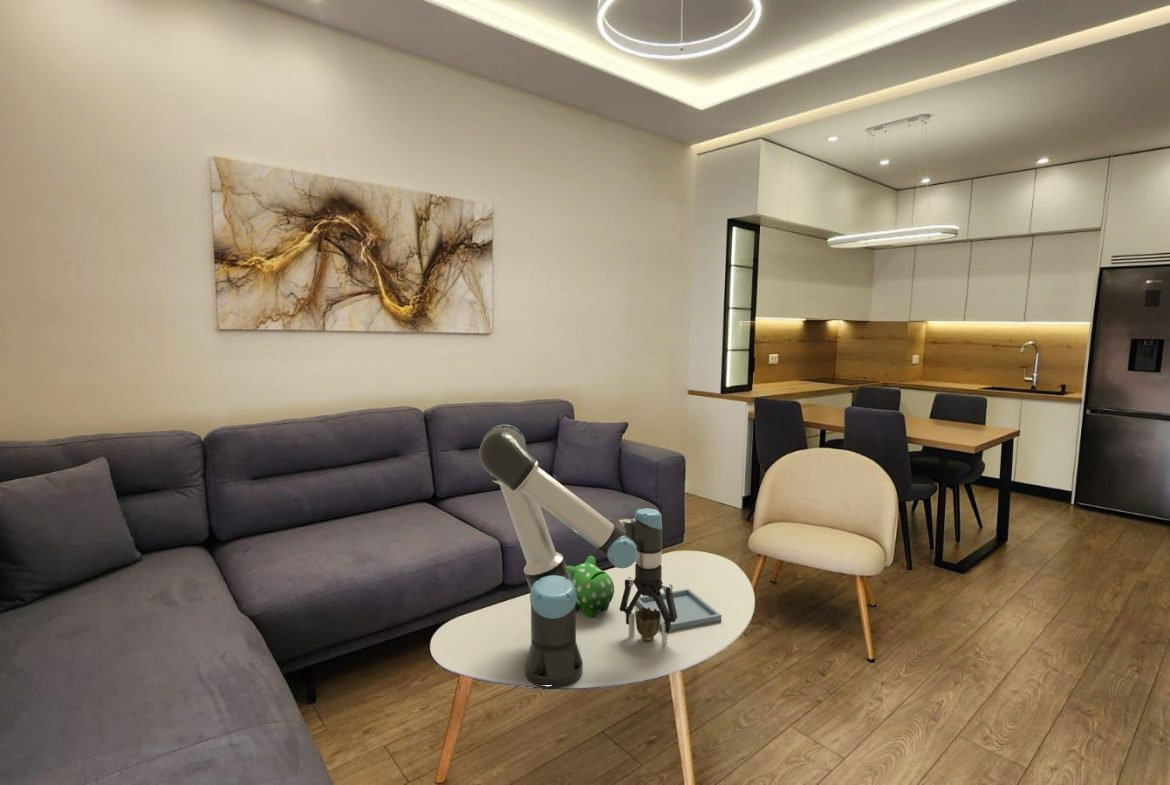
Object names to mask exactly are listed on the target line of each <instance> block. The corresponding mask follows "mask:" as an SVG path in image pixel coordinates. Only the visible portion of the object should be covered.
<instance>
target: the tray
mask: <svg viewBox="0 0 1170 785" xmlns="http://www.w3.org/2000/svg"><path fill="white" fill-rule="evenodd" d="M661 595H662V599H663V601H664V603H665V605H666V607H667V609H668V605H667V601H666V596H665V593H664V592H661ZM672 595H673V600H674V604H675V608H676V613H677V619H676V620H675V622H671V630H670V632H673V631H678V630H683V629H689V628H690V629H691V628H694V627H698V626H699V627H700V626H705V625H710V624H716V623H720V622H722V614H721V613H720V612H718V611H717V610H716V609H715V608H713V607H712V606H711V605H709V604H708V603H707V602H706V601H705V600H703V599H702V598H701V597H700V596H699V595H697V594H696V593H695V592H693V591H692V590H691V589H689V588H684V589H678V590H672ZM635 606H636V607H638V609H640V610H641V609H642V608H643V607H644V608H646V609H647V608H648V607H649V608H650V610H651V611H654V609H656V610H657V611H660V610H659V608H658V606H657V604H656V602H655V601H654V599H653V597H649V596H643V595H641V596H640V597H639V599H638V601H637V603H636V604H635ZM668 611H669V610H668ZM660 614H661V612H660ZM663 621H664V619H663V617H662V614H661V618H660V625H659V631H661V632H662V622H663Z"/></svg>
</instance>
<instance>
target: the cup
mask: <svg viewBox="0 0 1170 785" xmlns="http://www.w3.org/2000/svg"><path fill="white" fill-rule="evenodd" d="M634 612H635V628H636V630H637V632H638V634H639V635H640V638H641V640H642V641H643V642H646V643H651V642H653V641H654V639H655V636H656V635H657V634H658V632H659V631H660V629H659V625H660V618H661V614H660V611H657V610H656V609H654V611H651V610H650V608H649V607H648V608H647V609H646V608H644V607H643V608H642V609H640V608H638V610H635V611H634Z"/></svg>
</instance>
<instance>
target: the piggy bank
mask: <svg viewBox="0 0 1170 785" xmlns="http://www.w3.org/2000/svg"><path fill="white" fill-rule="evenodd" d="M596 564H597V562H596V558H595V556H592V555H589V556H588V557H587V558H586V560H585V561H584V562H583V563H580V564H578V565H575V566H573V565H566V567H567V568H568V570H569V572H570V574H571V577H572V583H573V584H574V586H575V591H576V596H577V598H576V612H577V611H579V610H580V609H582V611H583V613H584V615H585V616H586V617H589V618H595V617H597V616H598V615H599V613H600V612H606V611H608V609H609V607H610V603H611V602H612V600H613V598H614V594H615V585H614V582H613V579H612V578H611V576H610V574H608V572H606V571H604V570H602V569H601V568H599V567H598V566H597V565H596ZM599 611H600V612H599Z"/></svg>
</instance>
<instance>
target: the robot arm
mask: <svg viewBox="0 0 1170 785" xmlns="http://www.w3.org/2000/svg"><path fill="white" fill-rule="evenodd" d="M478 457H479V462H480V463H481V466H482V467H483V468H484V470H485V471H486V472H487V473H488V474H489V475H490V478H491V481H492V482H493V483H495V484H498V485H499V486H500V490H501V492H502V495H503V499H504V501H505V504H506V506H507V511H508V513H509V515H510V518H511V521H512V524H513V527H514V530H515V533H516V535H517V539H518V541H519V545H520V547H521V548H520V549H521V550H522V552H523V556H524V559H525V561H526V564H525V566H524V568H523V573H524V575H525V579H526V581H527V584H528V588H529V590H530V593H529V602H530V637H531V638H530V639H531V641H530V646H529V649H528V651H527V656H526V658H525V662H524V675H525V677H526V679H527V680H528V681H529V682H530V683H532V684H533V685H536V686H538V685H540V686H539V687H542V688H544V687H543V686H541V685H552V686H549V687H553V688H554V687H556V688H562V686H563V687H566V686H565V685H567V686H569V685H571V684H574V683H575V682H577V681H578V680H579V679H580V678H581V677H582V675H583V668H584V667H583V664H584V663H583V658H582V656H581V652H580V650H579V649H580V648H579V646H578V644H577V620H576V619H577V618H576V616H577V611H576V598H577V596H576V591H575V586H574V584H573V583H572V577H571V574H570V572H569V570H568V568H567V567H566V566H567V565H566V561H565V557H564V556H563V554H561V553H559V552H557V551H556V549H555V546H554V544H553V540H552V538H551V534H550V532H549V531H550V530H549V529H548V526H547V522H546V520H545V517H544V514H543V510H545V511H547V512H548V513H549V514H550V515H551V516H553V517H554V518H555V519H557V520H558V521H560V522H561V523H563V524H564V525H565V526H566V527H568V528H569V529H570V530H572V531H573V532H574V533H576V534H577V535H579V536H580V537H581V538H582V539H584V540H585V541H586V542H587V543H589V544H591V545H592V546H594V547H595V548H596V549H597V550H598V551H599V552H601V553H602V554H603V555H605V556H606V557H607V559H608V561H609V562H610V564H612V565H613V567H615V568H618V569H627V568H629V567H631V566H632V565H633V564H634V563H635V564H634V567H635V568H634V573H635V574H634V578H632V577H630V576H628V577H627V578H626V579H625V580H624V590H623V593H622V594H623V595H622V599H621V601H620V606H619V611H620V612H623V613H625V624H626V625H628V638H632V637H633V636H634V634H635V627H636V619H635V611H633V610H634V608H635V606H636V603H637V601H638V599H639V597H641V596H649V597H653V599H654V601H655V602H656V604H657V606H658V608H659V610H660V612H661V614H662V617H663V619H664V621H663V622H662V631H661V645H662V646H666V644H667V642H668V634H669V633H670V632H671V631H670V630H671V622H675V620H676V619H677V613H676V608H675V604H674V600H673V595H672V591H673V584H668V585H667V584H664V582H663V581H662V580H663V579H662V573H663V572H662V571H663V570H662V568H663V567H662V558H663V557H662V554H663V550H662V548H663V547H662V546H663V545H662V544H663V543H662V542H663V535H662V534H663V521H662V520H663V519H662V513H661V512H660V511H659V510H657V509H655V508H651V507H650V508H647V507H646V508H639V509H637V510H636V511H635V514H634V516H632V517H616V518H615V517H614V518H612V517H604V516H603V514H601V513H599V512H598V511H597V510H595V508H594V507H591V506H590V505H589V504H588V503H586V502H585V501H584V500H582V499H581V498H579V496H577V495H576V494H575V493H573V492H572V491H571V490H569V489H568V488H567V487H565V486H564V485H563V484H562V483H560V482H559V481H558V480H556V479H555V478H554V477H553V476H551V475H550V474H549V473H547V472H546V471H545V470H544V469H542V468H541V467H539V462H538V460H537V459H536V458H534V457H533V456H532V455H531V454H530V453H529V451H528V449H527V443H526V438H525V435H524V434H523V433H522V432H521V431H520V430H519V429H518V428H517V427H515V426H513V425H511V424H510V425H509V424H500V425H496V426H494V427H493V428H490V429H489V430H488V431H487V433H485V434H484V436H483V439H482V442H481V444H480V447H479V452H478ZM542 508H543V510H542ZM633 585H634V586H635V587H636V589H637V591H636V593H635V594H634V596H633V597H632V599H631V601H630V603H629V605H628V602H629V598H630V594H631V590H632V587H633ZM661 590H662V591H663V593H665V596H666V601H667V605H668V609H667V607H666V605H665V603H664V601H663V599H662V595H661V593H662V592H661ZM668 610H669V611H668ZM537 684H538V685H537ZM553 688H552V689H553ZM554 689H555V688H554Z"/></svg>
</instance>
